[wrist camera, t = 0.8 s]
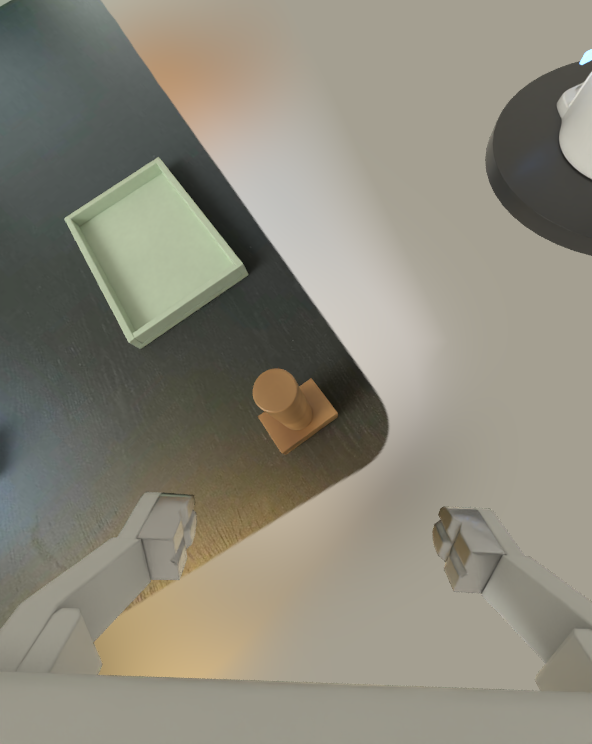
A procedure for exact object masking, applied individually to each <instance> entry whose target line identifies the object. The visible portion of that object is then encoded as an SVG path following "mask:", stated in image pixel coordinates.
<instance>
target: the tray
mask: <svg viewBox="0 0 592 744" xmlns="http://www.w3.org/2000/svg"><path fill="white" fill-rule="evenodd" d="M65 221H66V223H67V225H68V227H69V229H70V230H71V232H72V234H73V236H74V238H75V240H76V242H77V244H78V246H79V248H80V250H81V252H82V254H83V255H84V257H85V259H86V261H87V263H88V265H89V267H90V269H91V271H92V273H93V275H94V277H95V278H96V280H97V282H98V284H99V286H100V288H101V290H102V292H103V294H104V296H105V298H106V300H107V302H108V303H109V305H110V307H111V309H112V311H113V313H114V315H115V317H116V319H117V321H118V323H119V325H120V326H121V328H122V330H123V332H124V334H125V336H126V338H127V340H128V342H129V343H131V344H133V345H134V346H136V347H138V348H139V349H141V348H143V347H144V346H146V345H147V344H149V343H150V342H152V341H153V340H154V339H156V338H157V337H159V336H160V335H162V334H163V333H165V332H166V331H168V330H169V329H170V328H172V327H173V326H175V325H176V324H178V323H179V322H181V321H182V320H184V319H185V318H187V317H188V316H189V315H191V314H192V313H194V312H195V311H197V310H198V309H200V308H201V307H203V306H204V305H205V304H207V303H208V302H210V301H211V300H213V299H214V298H216V297H217V296H219V295H220V294H221V293H223V292H224V291H226V290H227V289H229V288H230V287H232V286H233V285H235V284H236V283H237V282H239V281H240V280H242V279H243V278H245V277H246V276H248V273H247V271H246V269H245V267H244V265H243V263H242V262H241V261H240V259H239V258H238V257H237V255H236V254H235V253H234V252H233V250H232V249H231V248H230V247H229V245H228V244H227V243H226V242H225V240H224V239H223V238H222V237H221V235H220V234H219V233H218V231H217V230H216V229H215V228H214V226H213V225H212V224H211V223H210V221H209V220H208V219H207V218H206V216H205V215H204V214H203V212H202V211H201V210H200V209H199V207H198V206H197V205H196V204H195V202H194V201H193V200H192V199H191V197H190V196H189V195H188V193H187V192H186V191H185V190H184V188H183V187H182V186H181V185H180V183H179V182H178V181H177V180H176V178H175V177H174V176H173V174H172V173H171V172H170V171H169V169H168V168H167V167H166V166H165V164H164V163H163V162H162V161H161V159H160V158H159V157H158V158H156V159H155V160H153V161H152V162H150V163H149V164H147V165H146V166H144V167H143V168H141V169H139V170H138V171H136V172H135V173H133V174H132V175H130V176H129V177H127V178H126V179H124V180H123V181H121V182H119V183H118V184H116V185H115V186H113V187H112V188H110V189H109V190H107V191H106V192H104V193H103V194H101V195H99V196H98V197H96V198H95V199H93V200H92V201H90V202H89V203H87V204H86V205H84V206H83V207H81V208H79V209H78V210H76V211H75V212H73V213H72V214H70V215H69V216H67V217H66V218H65Z"/></svg>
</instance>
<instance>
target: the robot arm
mask: <svg viewBox="0 0 592 744" xmlns="http://www.w3.org/2000/svg"><path fill="white" fill-rule="evenodd" d="M591 60H592V49H591V50H589V51H587V52H586V53H585V55H584V56H583V58H582V60H581V62H580V63H579V64H581V65H583V64H585V63H587V62H589V61H591ZM557 109H558V112H559V114H560V117H561V119H562V123H561V128H560V133H559V143H560V147H561V150H562V152H563V154H564V156H565V158H566V159H567V160H568V161H569V163H570V164H571V165H572V166H573V167H574V168H575V169H577V170H578V171H579V172H581V173H582V174H583V175H585V176H587V177H588V178H590V179H592V72H591V73H590V75H589V76H588V78H587V79H586V80H585V82H583V83H581V84H579V85H577V86H575V87H572V88H570V89H568V90H567V91H565V92H564V93H563V95H562V96H561V98H560V99H559V100H558V102H557ZM194 505H195V498H194V495H187V494H174V493H157V492H146V493H145V494H143V495H142V497H141V498H140V500H139V502H138V503H137V505H136V507H135V508H134V510H133V512H132V513H131V515H130V517H129V518H128V520H127V522H126V524H125V525H124V527H123V529H122V530H121V532H120V534H119V535H118V537H117V538H111V539H109V540H108V541H107V542H105V543H104V544H102V545H101V546H100V547H98V548H97V549H96V550H94V551H93V552H91V553H90V554H89V555H87V556H86V557H84V558H83V559H82V560H80V561H79V562H77V563H76V564H75V565H73V566H72V567H71V568H69V569H68V570H66V571H65V572H64V573H62V574H61V575H59V576H58V577H57V578H55V579H54V580H52V581H51V582H50V583H48V584H47V585H45V586H44V587H43V588H41V589H40V590H39V591H37V592H36V593H34V594H33V595H32V596H30V597H29V598H27V599H26V600H25V601H23V602H22V603H20V604H19V606H18V607H17V608H16V610H15V611H14V612H13V614H12V615H11V616H10V618H9V619H8V620H7V622H6V623H5V624H4V626H3V627H2V628H1V630H0V744H592V601H590V600H589V599H588V598H586V597H585V596H584V595H582V594H581V593H580V592H578V591H577V590H575V589H574V588H573V587H571V586H570V585H569V584H567V583H566V582H564V581H563V580H562V579H560V578H559V577H558V576H556V575H555V574H553V573H552V572H551V571H549V570H548V569H546V568H545V567H544V566H542V565H541V564H539V563H538V562H537V561H536V560H534V559H533V558H532V557H530V556H525V555H524V554H523V552H522V551H521V550H520V548H519V547H518V545H517V544H516V543H515V541H514V540H513V538H512V537H511V535H510V534H509V533H508V531H507V530H506V528H505V527H504V526H503V524H502V523H501V521H500V520H499V518H498V517H497V516H496V514H495V513H494V512H493V511H492V510H491V509H489V508H471V507H442V508H441V509H440V511H439V514H438V515H439V517H440V519H441V520H440V521H438V522H437V523H436V524H435V525H434V528H433V543H434V547H435V549H436V552H437V554H438V556H439V557H441V558H442V559H443V560H444V561H445V562H446V563H445V567H444V571H445V573H446V575H447V577H448V579H449V582H450V584H451V587H452V589H453V591H454V592H466V593H481V594H482V596H483V597H484V598H485V600H486V601H487V602H488V603H489V604H490V605H491V606H492V607H493V608H494V609H495V610H496V611H497V612H498V613H499V614H500V616H501V617H502V618H503V619H504V620H505V621H506V622H507V623H508V624H509V625H510V626H511V627H512V628H513V629H514V631H516V632H517V634H518V635H519V636H520V637H521V638H522V639H523V640H524V641H525V642H526V643H527V644H528V645H529V646H530V648H531V649H532V650H533V651H534V652H535V653H536V654H537V655H538V656H539V657H540V658H541V659H542V660H543V661H544V662H545V665H544V666H543V667H542V669H541V670H540V671H539V672H538V674H537V675H536V679H535V682H536V683H537V685H538V687H539V689H540V691H533V690H532V691H530V690H505V689H478V688H450V687H423V686H393V685H392V686H391V685H367V684H339V683H313V682H284V681H255V680H228V679H201V678H200V679H199V678H173V677H144V676H117V675H115V676H114V675H98V673H99V672H100V669H101V667H102V662H101V658H100V656H99V654H98V652H97V649H96V647H95V645H94V641H95V640H96V639H97V638H98V637H99V636H100V635H101V634H102V633H103V632H104V631H105V629H107V627H108V626H109V625H110V624H111V623H112V622H113V621H114V620H115V619H116V618H117V617H118V616H119V615H120V614H121V613H122V612H123V611H124V609H125V608H126V607H127V606H128V605H129V604H130V603H131V602H132V601H133V600H134V599H135V598H136V597H137V596H138V595H139V594H140V592H141V591H142V590H143V589H144V588H145V587H146V586H147V585H148V584H149V583H150V582H151V580H180V577H181V574H182V572H183V569H184V566H185V563H186V560H187V553H186V549H187V548H188V547H189V546H190V545H191V544H192V542H193V539H194V536H195V531H196V526H197V514H196V512H195V511H194V510H193V508H194Z"/></svg>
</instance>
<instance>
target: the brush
mask: <svg viewBox="0 0 592 744" xmlns="http://www.w3.org/2000/svg"><path fill="white" fill-rule="evenodd" d="M253 397H254V400H255V402H256V404H257V405H258V406H259V407H260V408H261V409H262V410H263V411H265V412H263V413H262V414H261V415H259V416H258V417H259V419H260V421H261V422H262V424H263V425H264V427H265V428H266V430H267V431H268V433H269V434H270V436H271V438H272V439H273V441H274V442H275V444H276V445H277V447H278V448H279V450H280V452H281V453H282V454H287V453H289V452H291V451H292V450H293V449H295V448H296V447H297V446H299V445H300V444H301V443H303V442H304V441H306V440H307V439H308V438H310V437H311V436H312V435H314V434H315V433H317V432H318V431H319V430H321V429H322V428H323V427H325V426H326V425H328V424H329V423H330V422H332V421H333V420H334V419H335V418H337V417H338V413H337V411H336V410H335V409H334V407H333V406H332V405H331V403H330V402H329V401H328V399H327V398H326V397H325V395H324V394H323V393H322V391H321V390H320V389H319V388H318V386H317V385H316V384H315V382H314V381H313V380H312V379H309V380H308V381H307V382H305V383H304V384H302V385H301V386H300V387H299V386H298V384H297V382H296V380H295V379H294V377H293V376H292V375H291V374H290V373H289V372H287V371H285V370H283V369H270V370H267V371H265V372H264V373H262V374H261V375H260V376H259V377H258V378H257V380H256V381H255V384H254V387H253Z"/></svg>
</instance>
